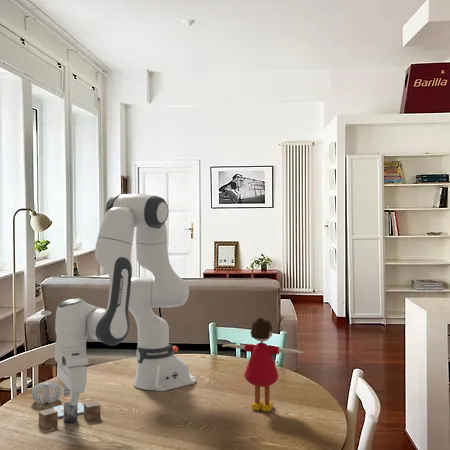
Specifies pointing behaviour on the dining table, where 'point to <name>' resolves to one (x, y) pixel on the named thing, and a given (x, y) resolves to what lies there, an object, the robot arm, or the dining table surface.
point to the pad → (61, 409)
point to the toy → (261, 362)
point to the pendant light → (46, 386)
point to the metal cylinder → (70, 413)
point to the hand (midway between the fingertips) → (70, 400)
